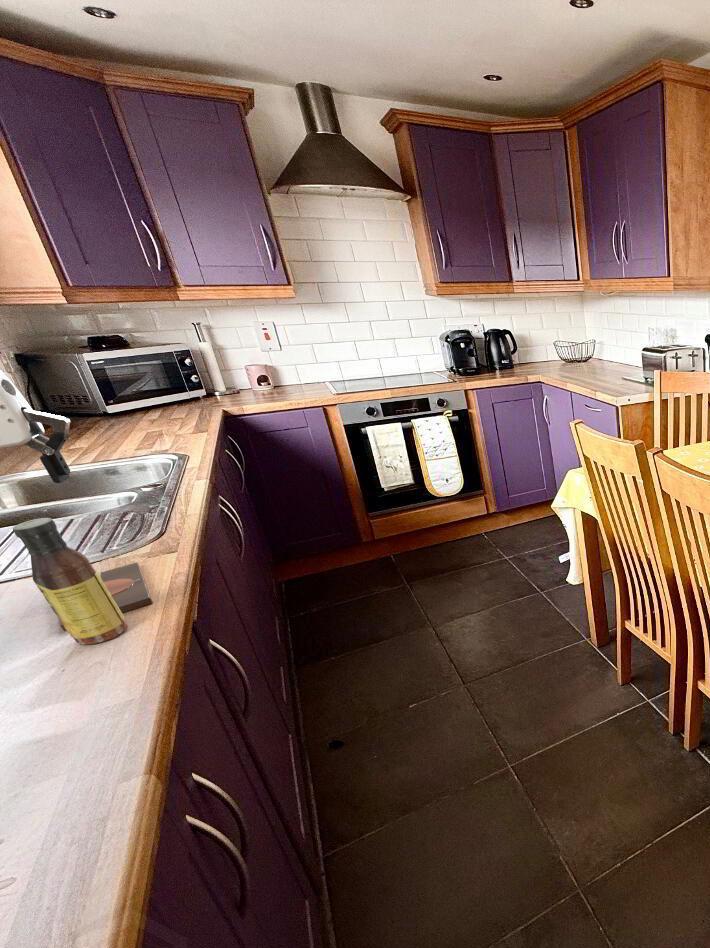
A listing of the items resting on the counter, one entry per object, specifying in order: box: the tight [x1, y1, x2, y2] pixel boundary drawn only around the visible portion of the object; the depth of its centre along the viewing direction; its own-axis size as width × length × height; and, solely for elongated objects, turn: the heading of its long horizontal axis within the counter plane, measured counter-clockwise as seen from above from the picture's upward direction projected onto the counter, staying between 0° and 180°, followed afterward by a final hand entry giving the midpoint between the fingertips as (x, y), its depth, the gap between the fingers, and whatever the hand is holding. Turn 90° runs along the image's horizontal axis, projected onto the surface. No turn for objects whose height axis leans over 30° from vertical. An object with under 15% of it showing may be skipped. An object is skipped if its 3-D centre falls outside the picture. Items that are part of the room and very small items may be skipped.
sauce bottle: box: [12, 517, 128, 646], centre depth 88 cm, size 6×6×20 cm
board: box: [59, 562, 153, 632], centre depth 104 cm, size 22×11×1 cm, turn 47°
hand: (16, 487), depth 82 cm, fingers open, 9 cm apart
